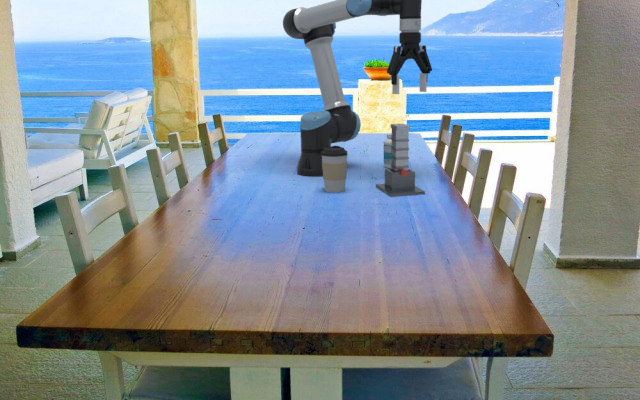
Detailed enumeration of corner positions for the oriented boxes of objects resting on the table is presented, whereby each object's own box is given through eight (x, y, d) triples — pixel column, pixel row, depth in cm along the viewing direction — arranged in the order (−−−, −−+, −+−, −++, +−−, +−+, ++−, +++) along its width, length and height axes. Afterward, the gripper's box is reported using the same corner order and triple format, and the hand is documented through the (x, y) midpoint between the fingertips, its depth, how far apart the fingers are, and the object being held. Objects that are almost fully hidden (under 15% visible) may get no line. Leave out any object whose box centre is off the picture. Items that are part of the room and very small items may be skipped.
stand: (390, 196, 225) (390, 173, 224) (375, 186, 241) (375, 164, 239) (424, 194, 228) (425, 171, 226) (408, 184, 243) (408, 163, 241)
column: (396, 189, 231) (397, 126, 226) (390, 185, 237) (390, 124, 232) (408, 188, 232) (409, 125, 227) (402, 184, 238) (403, 123, 233)
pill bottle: (402, 165, 280) (402, 132, 277) (402, 168, 273) (402, 134, 270) (383, 165, 281) (383, 132, 278) (383, 168, 274) (383, 135, 270)
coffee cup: (345, 193, 231) (345, 149, 228) (319, 192, 233) (318, 149, 230) (349, 187, 240) (349, 145, 236) (324, 187, 242) (323, 144, 238)
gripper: (391, 31, 230) (391, 95, 235) (442, 31, 245) (441, 91, 250) (376, 32, 236) (376, 94, 241) (427, 31, 251) (426, 90, 256)
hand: (409, 93), depth 245 cm, fingers open, 13 cm apart
